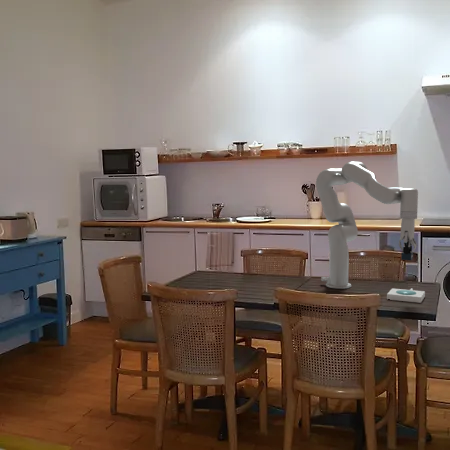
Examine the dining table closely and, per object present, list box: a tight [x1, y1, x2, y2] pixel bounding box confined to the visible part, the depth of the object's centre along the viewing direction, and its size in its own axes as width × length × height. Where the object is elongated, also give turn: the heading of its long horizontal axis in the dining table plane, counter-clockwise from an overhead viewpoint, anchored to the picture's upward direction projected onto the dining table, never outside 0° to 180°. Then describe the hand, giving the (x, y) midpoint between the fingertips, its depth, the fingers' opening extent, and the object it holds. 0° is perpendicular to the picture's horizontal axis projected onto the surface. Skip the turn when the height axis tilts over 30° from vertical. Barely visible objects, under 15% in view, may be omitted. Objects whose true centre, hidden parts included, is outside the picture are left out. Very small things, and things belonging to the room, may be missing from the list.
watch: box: [398, 237, 418, 261], centre depth 267 cm, size 6×8×11 cm
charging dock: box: [386, 288, 426, 304], centre depth 274 cm, size 15×24×3 cm, turn 154°
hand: (407, 254), depth 267 cm, fingers closed on watch, 3 cm apart
